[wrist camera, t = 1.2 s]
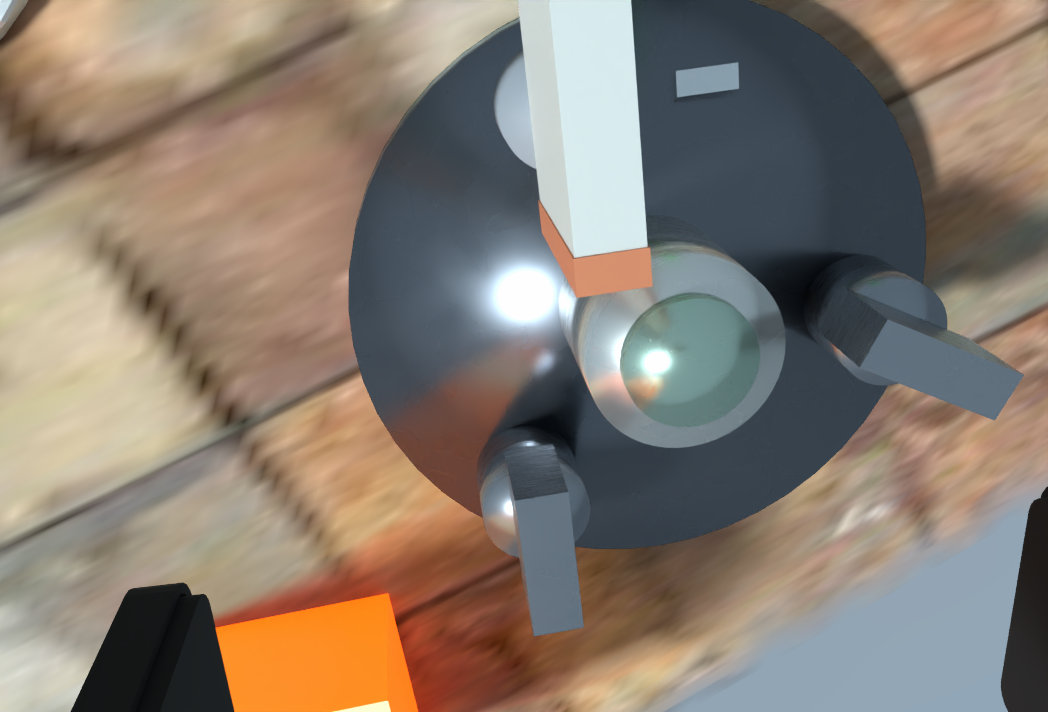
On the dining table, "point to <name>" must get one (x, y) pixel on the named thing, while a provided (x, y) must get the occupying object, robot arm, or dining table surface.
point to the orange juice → (319, 660)
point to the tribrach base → (694, 164)
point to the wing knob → (581, 138)
